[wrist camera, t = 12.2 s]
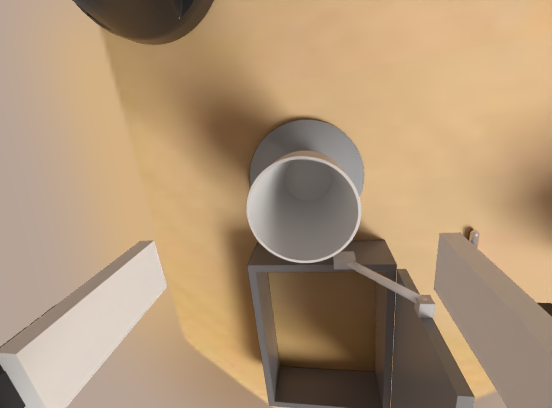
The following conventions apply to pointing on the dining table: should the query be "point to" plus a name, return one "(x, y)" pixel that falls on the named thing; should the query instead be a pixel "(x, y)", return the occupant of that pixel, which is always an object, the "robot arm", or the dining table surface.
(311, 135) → the slate coaster
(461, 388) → the case
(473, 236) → the rod
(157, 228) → the dining table surface
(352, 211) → the cup
